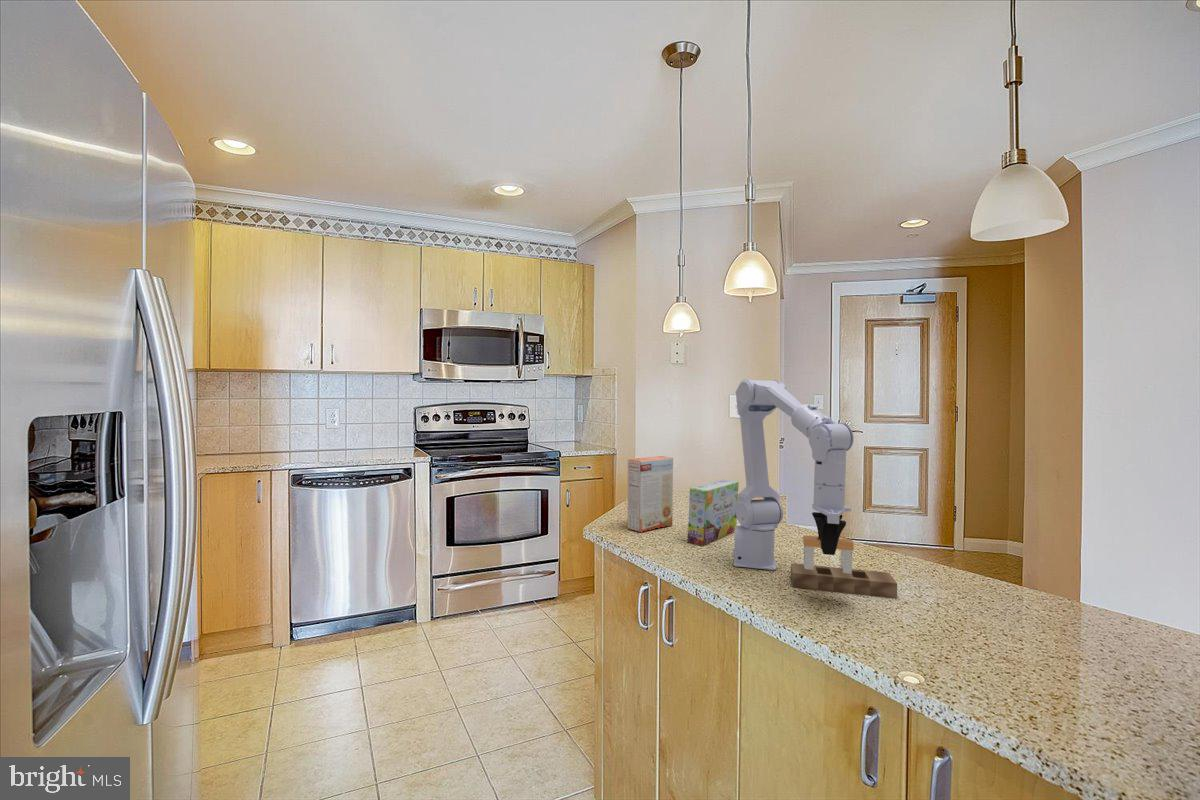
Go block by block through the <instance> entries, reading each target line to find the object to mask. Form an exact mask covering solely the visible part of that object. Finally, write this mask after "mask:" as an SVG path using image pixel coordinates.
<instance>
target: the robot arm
mask: <svg viewBox="0 0 1200 800" xmlns="http://www.w3.org/2000/svg"><path fill="white" fill-rule="evenodd" d="M735 398H736V409H737V415H738V416H739V421H740V429H741V431H740V432H741V442H742V443H741V444H742V452H743V463H744V473H745V485H746V486H745V488H743V489H742V490H741V491H740V492H738V495H737V507H736V517H737V522H738V523H739V524H740V525H737V526H735V532H734V546H733V547H734V548H733V549H732V557H733V566H734V567H740V568H748V569H759V570H767V571H777V564H776V563H777V562H776V559H775V539H776V538H775V536H776V535H775V531H776V529H778V527H779V526H778V525H779V524H781V522H782V521H783V518H784V508H783V506H782V504H781V501H780V497H779V496H780V494H779V493H778V492H777V491H776V490H775V489H774V488H773V487H771V485H770V482H769V481H770V479H769V471H768V461H767V451H766V444H765V443H766V442H765V441H766V440H765V432H764V431H765V430H764V423H763V422H764V420H765V418H766V417H767V416H769V415H771V414H772V413H773V412H774V411H775V410H776V409H779V410H781V411H782V412H783V413H785V414H786V415H788V417H790V421H791V424H792V426H793V427H794V428H796V430H798V431H799V432H801V434H802V435H804V436H805V437H806V438H807V439H808V443H809V445H810V448H811V450H812V451H811V452H812V455H811V456H812V459H813V461H814V471H813V472H814V478H813V503H812V509H813V510H814V512H812V513H811V515H812V517H813V519H814V521H815V525H816V529H817V533H818V534H817V535H818V537H820V539H821V547H822V548H820V549H821V552H822V554H823V555H827V556H828V555H829V556H835V554H836V552H837V549H836V548H837V544H838V540H839V538H840V537H841V534H842V532H843V530H844V529H845V527H846V526H847V521H846V520H842V518H843V514H844V513H845V512H851V511H852V507H851V506H849V505H845V500H846V499H845V497H846V473H847V472H846V471H847V469H846V468H847V467H846V464H847V452H849V450H851V448H852V447H853V445H854V439H855V438H854V432H853V431H852V428H851V427H850V426H849V425H848V424H847V423H846V422H835V421H833V420H832V418H831V417H830V416H829V415H828V416H827V415H825V414H824V413H822V412H821V411H820V410H819V409H818V406H817V405H816V404H812V403H811V404H809V403H805V404H802V403H801V402H800V401H799V400H798V399H797V398H796V397H795V396H793V395H792V394H791V392H789V391H788V390H787V386H786V384H785V383H782V381H781V380H779V379H774V380H768V379H767V380H762V379H748V378H745V379H742V380H741V382H740V383H739V385H738V387H737V388H736V391H735ZM755 498H756V499H755ZM757 498H763V499H757ZM815 511H816V512H815Z"/></svg>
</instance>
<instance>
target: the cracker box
mask: <svg viewBox="0 0 1200 800" xmlns="http://www.w3.org/2000/svg"><path fill="white" fill-rule="evenodd" d="M673 486H674V457H669V456H664V455H659V456H648V457H647V456H646V457H640V458H632V459H627V530H629V529H631V530H630V531H633V530H635V531H634V532H637V531H638V533H640V532H641V533H644V532H643V531H645V532H648V531H647V530H650V531H652V530H651V529H654V530H656V529H655V528H658V529H661V528H660V527H663V528H666V527H665V526H667V527H670V526H669V525H672V526H673V513H674V512H673V511H674V510H673V509H674V508H673V505H674V504H673V503H674V501H673V500H674V499H673V495H674V489H673V488H674V487H673Z"/></svg>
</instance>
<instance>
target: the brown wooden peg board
mask: <svg viewBox="0 0 1200 800" xmlns="http://www.w3.org/2000/svg"><path fill="white" fill-rule="evenodd" d="M790 580H791V587H792V588H799V589H808V590H815V591H816V590H819V591H824V592H825V591H827V592H834V593H835V592H836V593H846V594H855V595H863V596H872V597H873V596H874V597H881V598H892V599H898V582H897V580H895V578H894V577H893V576H892V575H891V572H888V571H887V572H886V571H877V570H876V571H874V570H865V569H864V570H863V569H855V568H852V574H850V573H843V572H842V570H841V567H837V566H836V567H835V566H834V567H833V566H825V565H814V566H813V570H810V569H805V568H804V563H795V562H794V563H793V562H790Z"/></svg>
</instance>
